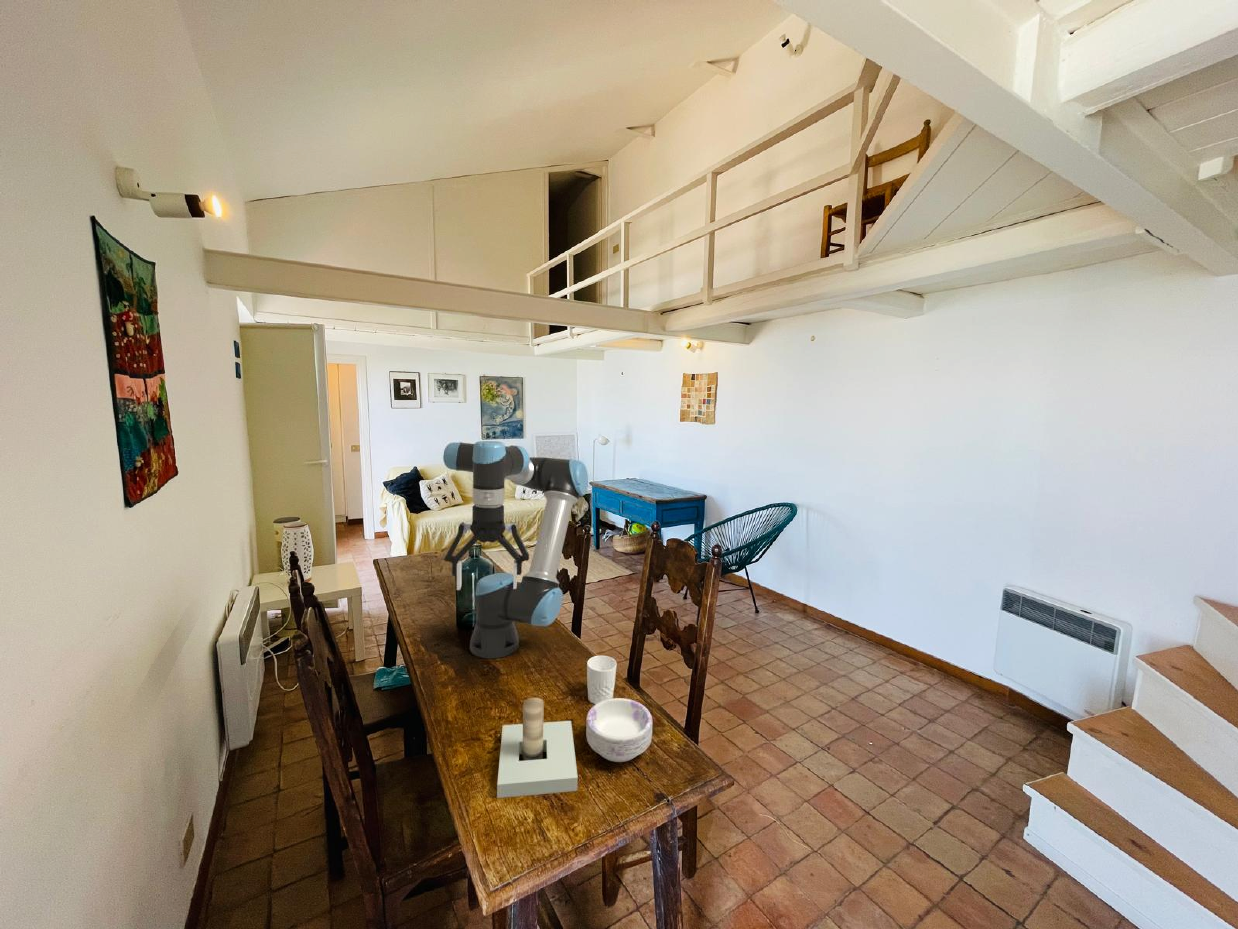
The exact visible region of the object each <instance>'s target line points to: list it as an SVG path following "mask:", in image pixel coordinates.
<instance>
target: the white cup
mask: <svg viewBox="0 0 1238 929" xmlns="http://www.w3.org/2000/svg"><path fill="white" fill-rule="evenodd" d="M586 663H587V664H586V673H587V674H586V679H587V681H586V682H587V683H586V684H587V686H586V687H587V699H588V701H589V702H590V703H591V704H594V705H596V704H597V703H599V702H601V701H604V700H607V699H613V698H614V691H615V690H614V689H615V686H616V685H615V684H616V673H617V664H618V662H617V661H616V660H615V659H614V658H613V657H611V656H608V655H595V656H592V657H590V658H589V659H588V660H587V662H586Z"/></svg>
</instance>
